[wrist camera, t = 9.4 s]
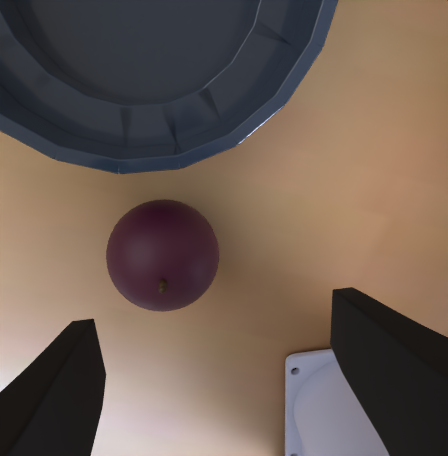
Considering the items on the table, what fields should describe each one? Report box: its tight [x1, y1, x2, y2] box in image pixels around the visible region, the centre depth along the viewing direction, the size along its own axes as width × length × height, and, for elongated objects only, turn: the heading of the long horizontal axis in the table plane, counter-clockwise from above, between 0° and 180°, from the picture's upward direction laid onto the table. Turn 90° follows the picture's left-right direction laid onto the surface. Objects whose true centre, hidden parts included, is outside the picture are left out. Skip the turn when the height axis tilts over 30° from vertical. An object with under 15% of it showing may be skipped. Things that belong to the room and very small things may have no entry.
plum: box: [106, 200, 219, 311], centre depth 17 cm, size 5×5×6 cm
